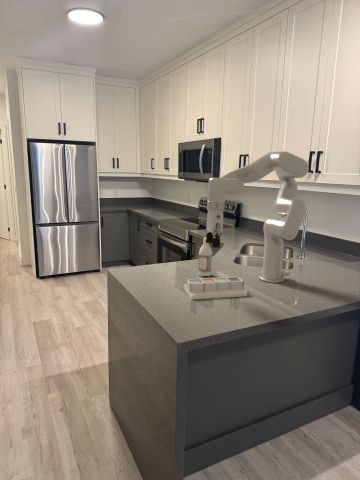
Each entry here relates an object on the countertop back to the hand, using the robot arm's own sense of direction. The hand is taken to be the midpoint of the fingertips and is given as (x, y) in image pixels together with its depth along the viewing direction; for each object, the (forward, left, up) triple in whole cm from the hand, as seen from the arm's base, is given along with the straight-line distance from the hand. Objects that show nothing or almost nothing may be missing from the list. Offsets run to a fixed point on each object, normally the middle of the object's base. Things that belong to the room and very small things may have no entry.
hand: (212, 245), depth 145 cm
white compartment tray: (-1, +2, -21) cm, 21 cm away
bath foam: (-4, -23, -21) cm, 32 cm away
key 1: (-10, +2, -18) cm, 21 cm away
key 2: (-4, +2, -18) cm, 18 cm away
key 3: (+2, +2, -18) cm, 18 cm away
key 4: (+8, +2, -18) cm, 20 cm away
